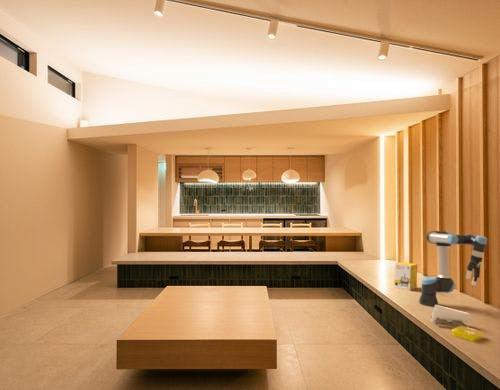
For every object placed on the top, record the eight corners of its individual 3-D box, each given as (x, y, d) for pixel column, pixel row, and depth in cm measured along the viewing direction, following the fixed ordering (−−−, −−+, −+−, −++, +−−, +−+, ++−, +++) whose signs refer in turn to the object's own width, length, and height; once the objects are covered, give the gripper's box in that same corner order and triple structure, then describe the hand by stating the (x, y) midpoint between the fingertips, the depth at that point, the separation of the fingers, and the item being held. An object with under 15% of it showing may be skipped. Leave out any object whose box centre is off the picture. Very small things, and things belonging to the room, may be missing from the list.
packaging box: (394, 287, 375) (395, 263, 375) (401, 285, 386) (402, 261, 386) (409, 290, 363) (410, 265, 363) (416, 288, 374) (417, 264, 374)
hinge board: (430, 318, 277) (430, 313, 277) (459, 321, 273) (459, 315, 273) (439, 327, 257) (439, 321, 257) (469, 330, 253) (469, 324, 254)
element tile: (484, 338, 240) (485, 331, 240) (474, 343, 231) (474, 335, 232) (461, 331, 252) (461, 324, 252) (450, 335, 244) (450, 328, 244)
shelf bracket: (429, 319, 269) (433, 303, 268) (464, 329, 266) (468, 312, 266) (432, 322, 263) (436, 305, 263) (467, 331, 261) (471, 315, 260)
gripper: (488, 262, 262) (481, 288, 265) (477, 252, 286) (470, 277, 289) (477, 259, 264) (470, 286, 267) (466, 250, 287) (460, 275, 291)
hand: (470, 281), depth 278 cm, fingers open, 13 cm apart
